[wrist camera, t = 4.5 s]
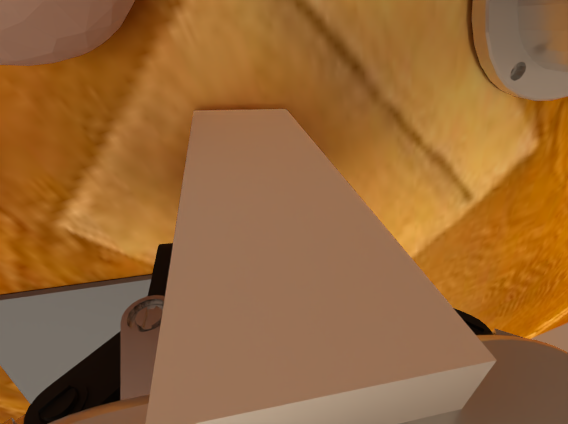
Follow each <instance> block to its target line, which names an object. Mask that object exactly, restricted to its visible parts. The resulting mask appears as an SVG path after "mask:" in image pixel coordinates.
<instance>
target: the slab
mask: <svg viewBox="0 0 568 424" xmlns="http://www.w3.org/2000/svg"><path fill="white" fill-rule="evenodd" d="M496 361H497V360H496V359H495V357H494V356H493V355H492V354H491V353H490V351H489V350H488V349H487V348H486V347H485V345H484V344H483V343H482V342H481V341H480V340H479V338H478V337H477V336H476V335H475V334H474V332H473V331H472V330H471V329H470V328H469V326H468V325H467V324H466V323H465V322H464V320H463V319H462V318H461V317H460V316H459V314H458V313H457V312H456V311H455V310H454V308H453V307H452V306H451V305H450V304H449V303H448V301H447V300H446V299H445V298H444V297H443V295H442V294H441V293H440V292H439V291H438V289H437V288H436V287H435V286H434V285H433V283H432V282H431V281H430V280H429V279H428V277H427V276H426V275H425V274H424V273H423V271H422V270H421V269H420V268H419V267H418V266H417V264H416V263H415V262H414V261H413V260H412V258H411V257H410V256H409V255H408V254H407V252H406V251H405V250H404V249H403V248H402V246H401V245H400V244H399V243H398V242H397V240H396V239H395V238H394V237H393V236H392V234H391V233H390V232H389V231H388V230H387V229H386V227H385V226H384V225H383V224H382V223H381V221H380V220H379V219H378V218H377V217H376V215H375V214H374V213H373V212H372V211H371V209H370V208H369V207H368V206H367V205H366V203H365V202H364V201H363V200H362V199H361V197H360V196H359V195H358V194H357V193H356V191H355V190H354V189H353V188H352V187H351V186H350V184H349V183H348V182H347V181H346V180H345V178H344V177H343V176H342V175H341V174H340V172H339V171H338V170H337V169H336V168H335V166H334V165H333V164H332V163H331V162H330V160H329V159H328V158H327V157H326V156H325V154H324V153H323V152H322V151H321V150H320V149H319V147H318V146H317V145H316V144H315V143H314V141H313V140H312V139H311V138H310V137H309V135H308V134H307V133H306V132H305V131H304V129H303V128H302V127H301V126H300V125H299V123H298V122H297V121H296V120H295V119H294V117H293V116H292V115H291V114H290V113H289V112H288V110H287V109H251V110H195V111H194V112H193V118H192V125H191V131H190V138H189V144H188V151H187V157H186V164H185V170H184V177H183V183H182V190H181V196H180V202H179V209H178V215H177V222H176V228H175V235H174V241H173V248H172V254H171V261H170V267H169V274H168V280H167V287H166V293H165V300H164V306H163V313H162V319H161V326H160V332H159V338H158V345H157V351H156V358H155V364H154V371H153V377H152V384H151V390H150V397H149V403H148V410H147V416H146V423H145V424H400V423H404V422H408V421H412V420H417V419H421V418H425V417H429V416H434V415H438V414H442V413H447V412H451V411H455V410H460V409H462V408H463V407H464V405H465V404H466V402H467V401H468V400H469V398H470V397H471V395H472V394H473V393H474V391H475V390H476V388H477V387H478V386H479V384H480V383H481V382H482V380H483V379H484V377H485V376H486V375H487V373H488V372H489V370H490V369H491V368H492V366H493V365H494V363H495V362H496Z"/></svg>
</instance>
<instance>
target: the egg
mask: <svg viewBox="0 0 568 424" xmlns="http://www.w3.org/2000/svg"><path fill="white" fill-rule="evenodd" d="M134 2H135V0H0V65H26V66H30V65H40V64H49V63H55V62H59V61H62V60H66V59H70V58H73V57H77V56H80V55H83V54H85V53H88V52H90V51H91V50H93V49H95V48H96V47H98V46H100V45H101V44H103V43H104V42H105V41H106V40H108V39H109V38H110V37H111V36H112V35H113V34H114V33H115V32H116V31H117V30H118V29H119V28H120V27H121V25H122V23H123V21H124V20H125V18H126V16H127V14H128V12H129V11H130V9H131V7H132V5H133V3H134Z"/></svg>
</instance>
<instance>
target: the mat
mask: <svg viewBox="0 0 568 424" xmlns="http://www.w3.org/2000/svg"><path fill="white" fill-rule="evenodd" d="M151 278H152V275H145V276H137V277H130V278H123V279H116V280H108V281H101V282H94V283H86V284H79V285H72V286H64V287H57V288H50V289H42V290H35V291H28V292H21V293H13V294H6V295H0V365H1V367H2V368H3V369H4V370H5V372H6V373H7V374H8V376H9V377H10V378H11V379H12V381H13V382H14V383H15V385H16V386H17V387H18V388H19V390H20V391H21V392H22V394H23V395H24V396H25V397H26V399H27V400H28V401H29V403H30V404H32V402H33V401H34V400H35V398H36V397H37V396H38V395H39V394H40V393H41V392H42V391H44V390H45V389H46V388H47V387H48V386H50V385H51V384H52V383H53V382H55V381H56V380H57V379H59V378H60V377H61V376H63V375H64V374H65V373H66V372H68V371H69V370H70V369H72V368H73V367H74V366H76V365H77V364H78V363H79V362H81V361H82V360H83V359H85V358H86V357H87V356H89V355H90V354H91V353H92V352H94V351H95V350H96V349H98V348H99V347H100V346H102V345H103V344H104V343H105V342H107V341H108V340H109V339H111V338H112V337H113V336H115V335H116V334H117V333H118V332H120V331H121V318H122V315H123V314H124V312H125V310H126V309H127V308H128V307H129V306H130V305H131V304H132V303H134V302H136V301H137V300H139V299H141V298H144V297H146V296H148V292H149V287H150V283H151Z"/></svg>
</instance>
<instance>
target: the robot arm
mask: <svg viewBox="0 0 568 424" xmlns="http://www.w3.org/2000/svg"><path fill="white" fill-rule="evenodd" d="M472 28H473V38H474V46H475V49H476V52H477V55H478V59H479V62H480V65H481V67H482V68H483V70H484V72H485V73H486V75H487V77H488V78H489V80H490V81H491V82H492V83H493V84H495V85H496V86H497V87H498V88H499V89H500V90H501V91H504V92H506V93H508V94H510V95H513V96H515V97H520V98H525V99H530V100H534V101H552V100H556V99H560V98H564V97H568V0H473V5H472ZM172 248H173V243H170V244H160V245H159V246H158V250H157V255H156V259H155V264H154V269H153V273H152V278H151V283H150V287H149V292H148V296H146V297H144V298H141V299H139V300H137V301H136V302H134V303H132V304H131V305H130V306H129V307H128V308H127V309H126V310H125V312H124V314H123V315H122V318H121V331H120V332H118V333H117V334H116V335H115V336H113V337H112V338H111V339H109V340H108V341H107V342H105V343H104V344H103V345H102V346H100V347H99V348H98V349H96V350H95V351H94V352H92V353H91V354H90V355H89V356H87V357H86V358H85V359H83V360H82V361H81V362H79V363H78V364H77V365H76V366H74V367H73V368H72V369H70V370H69V371H68V372H66V373H65V374H64V375H63V376H61V377H60V378H59V379H57V380H56V381H55V382H53V383H52V384H51V385H50V386H48V387H47V388H46V389H45V390H44V391H42V392H41V393H40V394H39V395H38V396H37V397H36V398H35V400H34V401H33V402H32V404H31V405H30V406H29V408H28V410H27V412H26V414H25V415H23V416H22V417H20V418H18V419H17V420H15V421H14V420H13V419H12V418H10V419H9V420H7V421H5V422H4V423H2V424H145V423H146V416H147V410H148V403H149V397H150V390H151V384H152V377H153V371H154V364H155V358H156V351H157V345H158V338H159V332H160V326H161V319H162V313H163V306H164V300H165V293H166V287H167V280H168V274H169V267H170V261H171V254H172ZM454 310H455V311H456V312H457V313H458V314H459V316H460V317H461V318H462V319H463V320H464V322H465V323H466V324H467V325H468V326H469V328H470V329H471V330H472V331H473V332H474V334H475V335H476V336H477V337H478V338H479V340H480V341H481V342H482V343H483V344H484V345H485V347H486V348H487V349H488V350H489V351H490V353H491V354H492V355H493V356H494V357H495V359H496V360H497V361H496V362H495V363H494V365H493V366H492V368H491V369H490V370H489V372H488V373H487V375H486V376H485V377H484V379H483V380H482V382H481V383H480V384H479V386H478V387H477V388H476V390H475V391H474V393H473V394H472V395H471V397H470V398H469V400H468V401H467V402H466V404H465V405H464V407H463V408H462V409H460V410H455V411H451V412H447V413H442V414H438V415H434V416H429V417H425V418H421V419H417V420H412V421H408V422H404V423H400V424H568V353H567V352H566V351H564V350H562V349H560V348H557V347H555V346H553V345H550V344H547V343H543V342H540V341H537V340H532V339H526V338H523V337H520V336H517V335H513V334H510V333H507V332H504V331H501V330H498V329H494V331H493V332H491V330H490V329H489V328H488V327H487V326H486V325H485V324H484V323H483V322H481V321H480V320H479V319H477V318H475V317H473V316H471V315H469V314H466V313H464V312H462V311H459V310H457V309H455V308H454Z"/></svg>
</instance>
